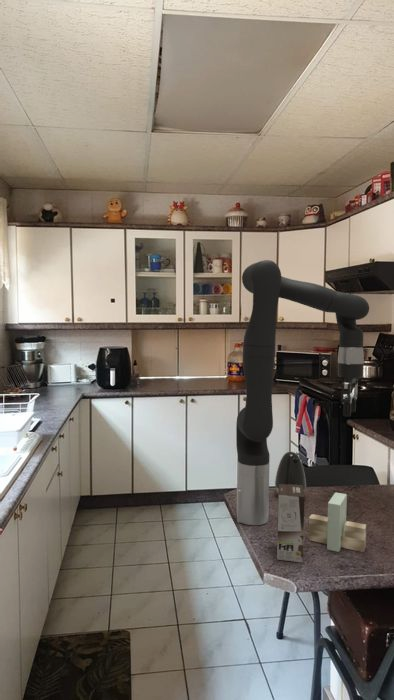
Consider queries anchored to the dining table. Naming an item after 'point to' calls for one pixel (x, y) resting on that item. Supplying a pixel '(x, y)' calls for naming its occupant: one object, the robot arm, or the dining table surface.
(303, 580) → the dining table surface
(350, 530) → the birch slotted plate
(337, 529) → the mint green upright block
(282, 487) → the coffee box
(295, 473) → the dark grey rounded-top part
